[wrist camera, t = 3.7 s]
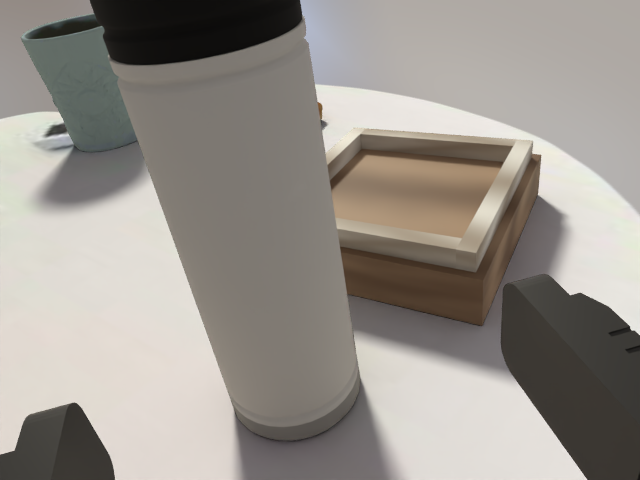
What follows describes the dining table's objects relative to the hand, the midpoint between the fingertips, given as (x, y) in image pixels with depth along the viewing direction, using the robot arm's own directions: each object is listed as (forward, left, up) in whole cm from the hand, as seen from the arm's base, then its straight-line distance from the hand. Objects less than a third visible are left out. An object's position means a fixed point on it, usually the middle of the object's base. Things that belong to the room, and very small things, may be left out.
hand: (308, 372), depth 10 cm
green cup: (+31, +46, -13) cm, 57 cm away
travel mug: (+8, +8, -13) cm, 17 cm away
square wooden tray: (+22, +8, -13) cm, 27 cm away
